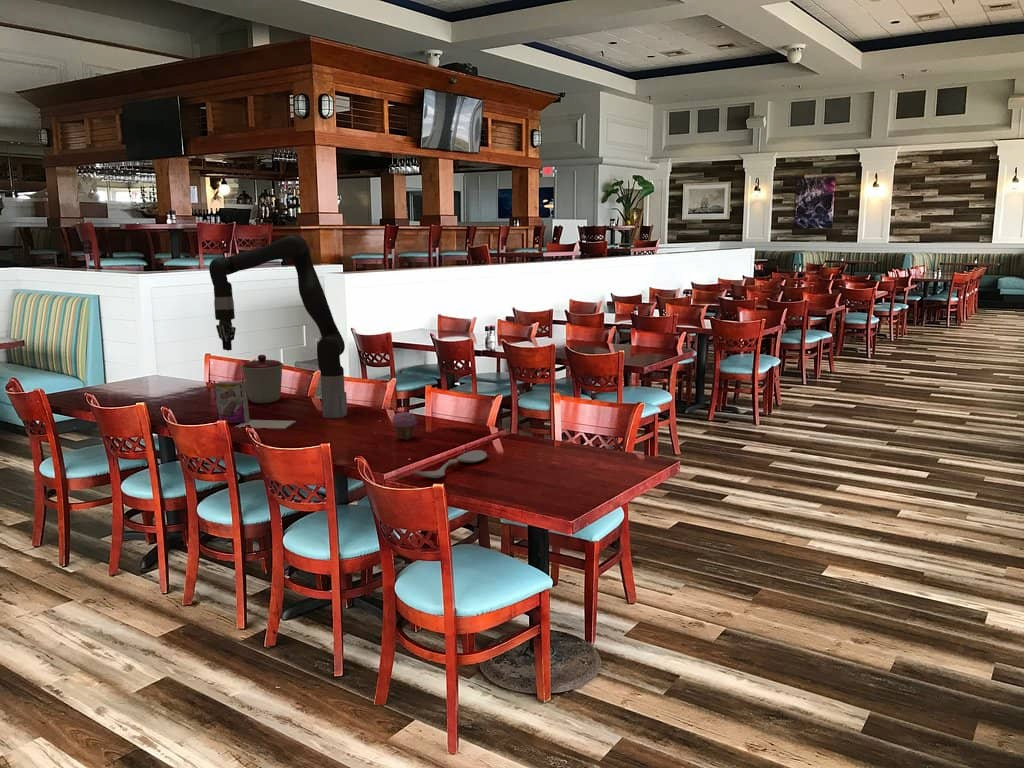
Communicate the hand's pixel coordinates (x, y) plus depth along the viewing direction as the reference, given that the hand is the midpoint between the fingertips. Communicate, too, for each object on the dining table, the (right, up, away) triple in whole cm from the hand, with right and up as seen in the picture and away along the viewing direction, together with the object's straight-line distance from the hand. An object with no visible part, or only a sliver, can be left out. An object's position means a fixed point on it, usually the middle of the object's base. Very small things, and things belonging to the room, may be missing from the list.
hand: (227, 349), depth 337 cm
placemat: (+20, -30, -14) cm, 39 cm away
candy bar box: (+6, -30, -11) cm, 32 cm away
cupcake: (+78, -34, -37) cm, 92 cm away
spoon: (+98, -42, -75) cm, 131 cm away
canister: (+6, -22, +30) cm, 38 cm away
